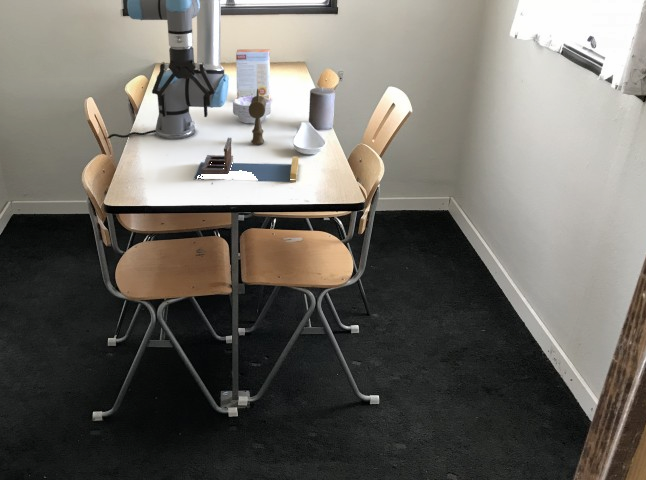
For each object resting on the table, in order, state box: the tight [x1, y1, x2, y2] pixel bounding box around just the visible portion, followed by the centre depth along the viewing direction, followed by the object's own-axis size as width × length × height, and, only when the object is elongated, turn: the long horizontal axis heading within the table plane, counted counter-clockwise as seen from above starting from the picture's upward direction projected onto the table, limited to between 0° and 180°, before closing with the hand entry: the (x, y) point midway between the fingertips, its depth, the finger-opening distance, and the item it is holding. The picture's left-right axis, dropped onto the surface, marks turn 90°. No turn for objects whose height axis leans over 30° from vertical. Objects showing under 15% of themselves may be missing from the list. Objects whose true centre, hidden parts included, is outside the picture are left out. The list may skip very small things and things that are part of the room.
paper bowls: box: [232, 96, 272, 124], centre depth 285 cm, size 15×15×8 cm
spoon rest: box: [292, 121, 327, 156], centre depth 258 cm, size 24×12×7 cm, turn 5°
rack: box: [201, 137, 234, 177], centre depth 238 cm, size 9×14×10 cm, turn 174°
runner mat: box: [193, 161, 299, 183], centre depth 240 cm, size 34×16×1 cm, turn 84°
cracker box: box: [235, 48, 271, 100], centre depth 305 cm, size 14×6×21 cm, turn 84°
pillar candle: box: [308, 86, 336, 131], centre depth 275 cm, size 10×10×15 cm
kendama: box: [249, 89, 266, 146], centre depth 258 cm, size 6×10×20 cm, turn 175°
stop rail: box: [289, 156, 300, 183], centre depth 237 cm, size 2×16×3 cm, turn 174°
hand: (185, 115), depth 231 cm, fingers open, 13 cm apart
